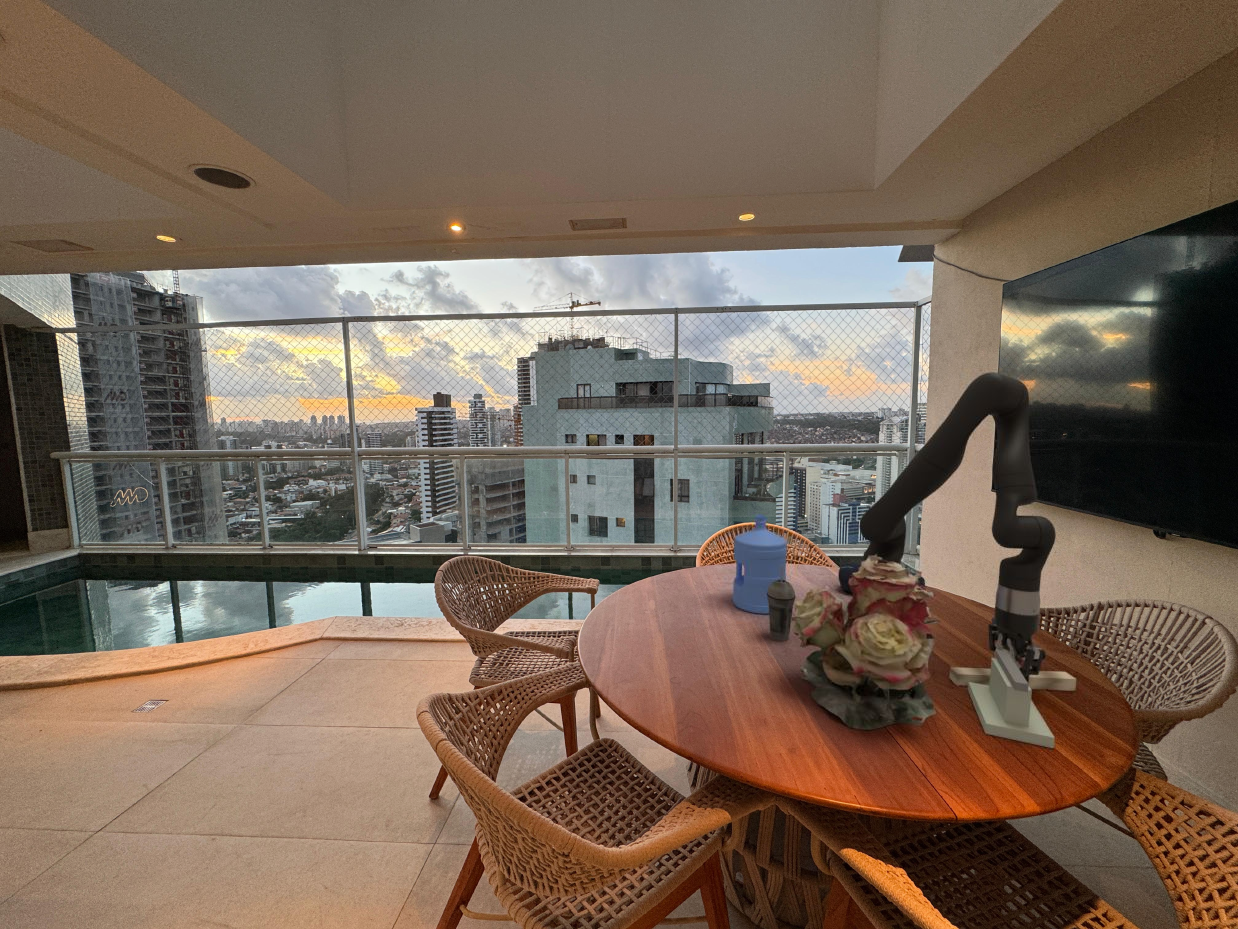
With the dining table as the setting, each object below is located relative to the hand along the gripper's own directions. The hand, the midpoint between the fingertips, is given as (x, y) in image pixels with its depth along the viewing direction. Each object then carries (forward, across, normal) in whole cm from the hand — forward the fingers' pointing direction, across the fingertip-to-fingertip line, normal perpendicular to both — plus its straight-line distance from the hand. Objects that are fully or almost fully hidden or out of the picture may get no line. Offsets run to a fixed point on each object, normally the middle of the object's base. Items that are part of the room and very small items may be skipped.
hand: (1010, 681), depth 111 cm
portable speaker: (+1, +52, +6) cm, 53 cm away
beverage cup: (+1, +20, +45) cm, 49 cm away
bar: (+1, 0, 0) cm, 1 cm away
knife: (+1, +20, -14) cm, 24 cm away
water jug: (+1, +42, +46) cm, 63 cm away
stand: (+1, -13, +9) cm, 16 cm away
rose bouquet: (+1, -8, +34) cm, 35 cm away
